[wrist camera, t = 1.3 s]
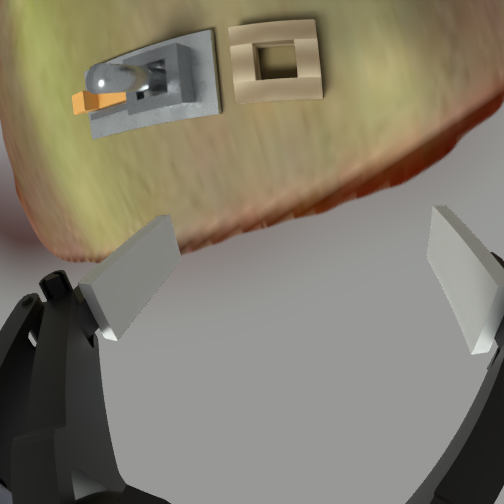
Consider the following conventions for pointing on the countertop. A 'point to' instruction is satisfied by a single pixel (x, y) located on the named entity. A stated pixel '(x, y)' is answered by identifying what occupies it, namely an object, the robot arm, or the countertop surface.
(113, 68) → the peg
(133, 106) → the socket station
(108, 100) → the orange block
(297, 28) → the light wood square frame
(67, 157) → the countertop surface
